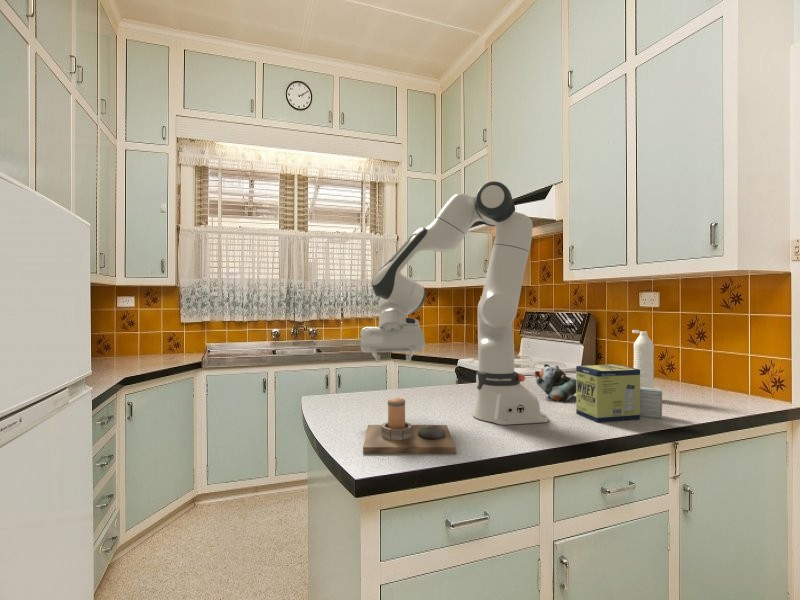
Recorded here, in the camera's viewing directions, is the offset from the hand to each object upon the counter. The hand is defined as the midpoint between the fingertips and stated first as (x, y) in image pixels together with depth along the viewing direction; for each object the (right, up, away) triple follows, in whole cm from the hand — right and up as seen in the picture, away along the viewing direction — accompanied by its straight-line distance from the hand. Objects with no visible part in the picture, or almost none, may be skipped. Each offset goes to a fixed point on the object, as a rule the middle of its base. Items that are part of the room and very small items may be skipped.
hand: (393, 360), depth 131 cm
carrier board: (+4, -18, -20) cm, 27 cm away
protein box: (+67, -18, +4) cm, 70 cm away
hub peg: (+1, -16, -20) cm, 26 cm away
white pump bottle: (+92, -18, +29) cm, 98 cm away
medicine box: (+80, -18, +5) cm, 82 cm away
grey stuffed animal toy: (+61, -18, +29) cm, 70 cm away
